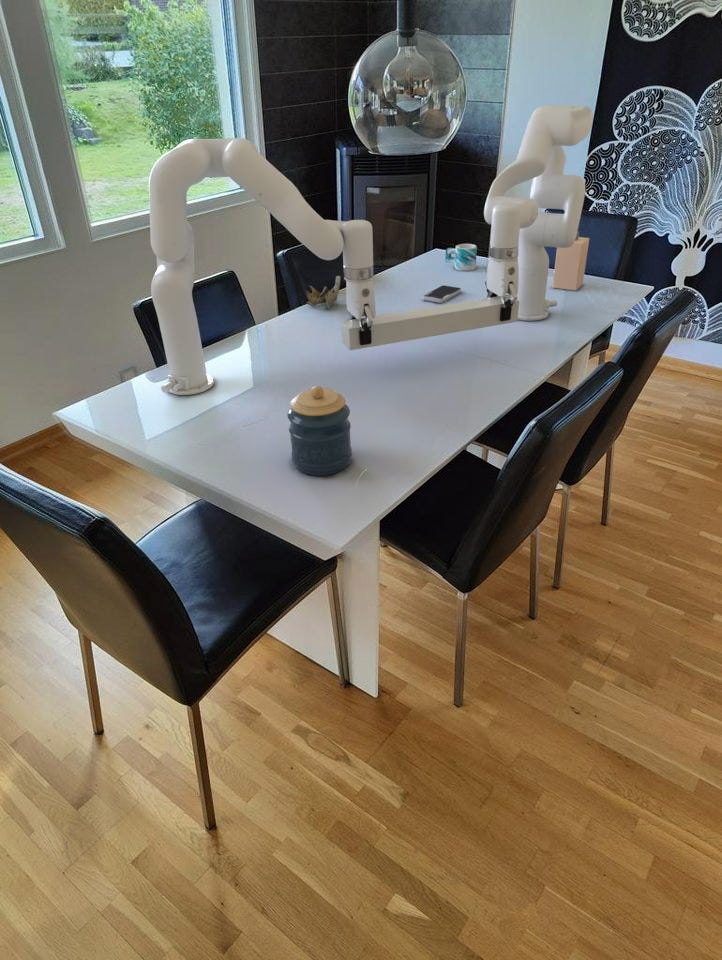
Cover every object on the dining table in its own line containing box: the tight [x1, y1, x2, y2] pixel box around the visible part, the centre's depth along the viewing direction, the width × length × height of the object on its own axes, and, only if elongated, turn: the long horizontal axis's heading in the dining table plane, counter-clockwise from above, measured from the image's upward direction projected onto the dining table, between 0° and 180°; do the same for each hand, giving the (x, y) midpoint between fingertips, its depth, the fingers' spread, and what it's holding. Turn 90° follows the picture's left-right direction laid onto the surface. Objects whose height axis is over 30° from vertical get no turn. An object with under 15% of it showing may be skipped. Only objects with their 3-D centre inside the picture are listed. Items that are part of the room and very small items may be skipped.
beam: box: [340, 296, 519, 351], centre depth 184 cm, size 51×6×6 cm, turn 110°
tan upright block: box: [552, 230, 590, 292], centre depth 235 cm, size 13×9×22 cm
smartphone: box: [422, 285, 462, 304], centre depth 237 cm, size 8×1×15 cm
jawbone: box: [305, 275, 341, 310], centre depth 232 cm, size 9×15×10 cm
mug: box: [445, 243, 478, 272], centre depth 265 cm, size 8×12×8 cm
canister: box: [287, 385, 353, 476], centre depth 141 cm, size 13×13×18 cm
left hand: (360, 339), depth 180 cm, fingers closed on beam, 6 cm apart
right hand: (498, 315), depth 191 cm, fingers closed on beam, 6 cm apart
